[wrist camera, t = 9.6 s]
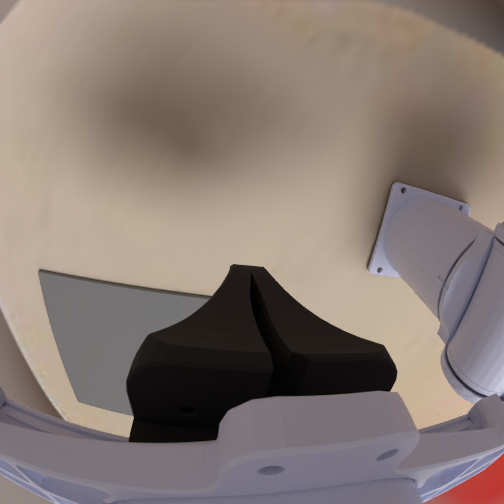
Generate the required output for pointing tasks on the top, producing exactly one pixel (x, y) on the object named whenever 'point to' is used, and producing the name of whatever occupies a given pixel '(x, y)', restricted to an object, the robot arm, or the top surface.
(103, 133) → the top surface
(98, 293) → the charcoal mat
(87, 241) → the top surface
